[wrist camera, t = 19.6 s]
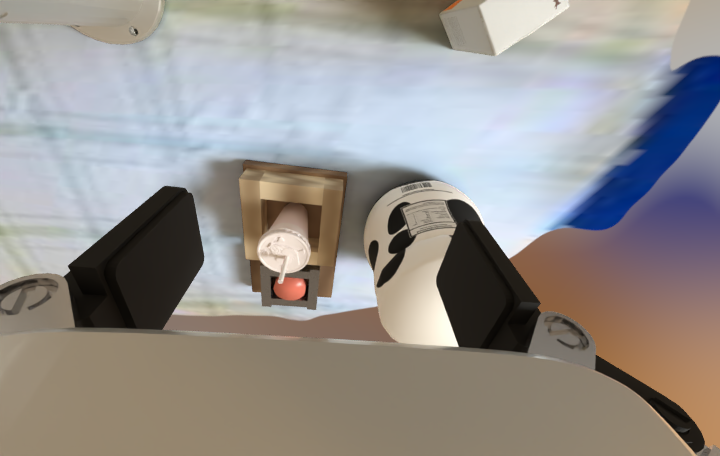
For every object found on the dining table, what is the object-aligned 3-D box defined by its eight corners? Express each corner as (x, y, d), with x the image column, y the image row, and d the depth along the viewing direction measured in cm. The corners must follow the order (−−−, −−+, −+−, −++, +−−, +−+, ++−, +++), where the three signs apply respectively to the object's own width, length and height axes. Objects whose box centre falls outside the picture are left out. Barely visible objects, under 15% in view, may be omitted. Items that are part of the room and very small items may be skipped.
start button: (277, 285, 50) (273, 299, 48) (277, 263, 48) (273, 276, 45) (306, 287, 51) (304, 301, 48) (308, 266, 48) (305, 279, 46)
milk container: (414, 277, 53) (441, 372, 38) (340, 229, 47) (337, 320, 32) (492, 214, 46) (561, 300, 31) (418, 147, 40) (461, 214, 25)
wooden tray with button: (254, 285, 53) (246, 307, 49) (246, 159, 40) (234, 174, 36) (331, 291, 54) (330, 312, 50) (347, 172, 41) (347, 187, 37)
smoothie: (298, 238, 46) (282, 307, 34) (264, 214, 43) (233, 280, 31) (325, 212, 43) (318, 278, 32) (291, 185, 41) (268, 245, 29)
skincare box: (489, -27, 30) (560, -57, 20) (502, 16, 32) (572, 7, 22) (436, 14, 32) (477, 4, 22) (451, 52, 34) (495, 59, 24)
